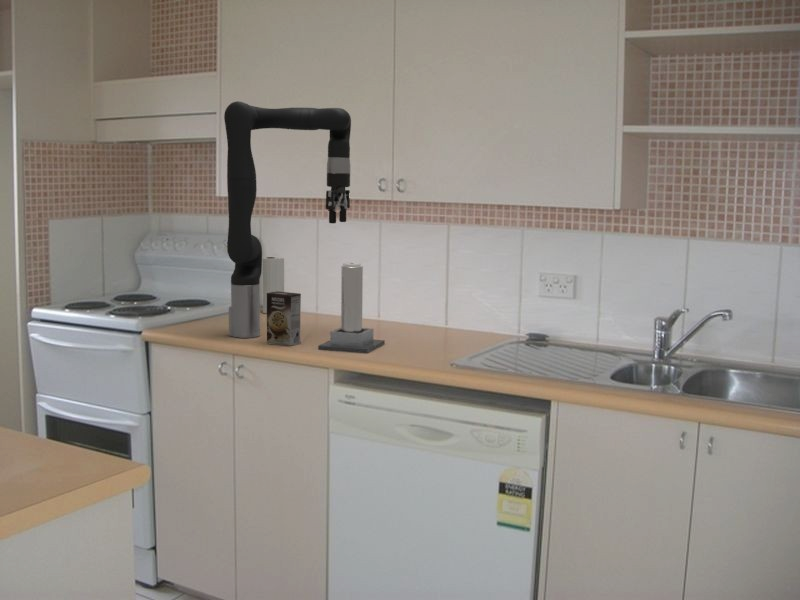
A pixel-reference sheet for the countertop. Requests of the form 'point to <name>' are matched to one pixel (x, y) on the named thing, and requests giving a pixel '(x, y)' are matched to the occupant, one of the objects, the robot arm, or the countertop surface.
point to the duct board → (352, 341)
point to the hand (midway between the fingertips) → (337, 222)
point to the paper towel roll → (272, 277)
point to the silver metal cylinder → (351, 298)
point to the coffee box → (283, 318)
